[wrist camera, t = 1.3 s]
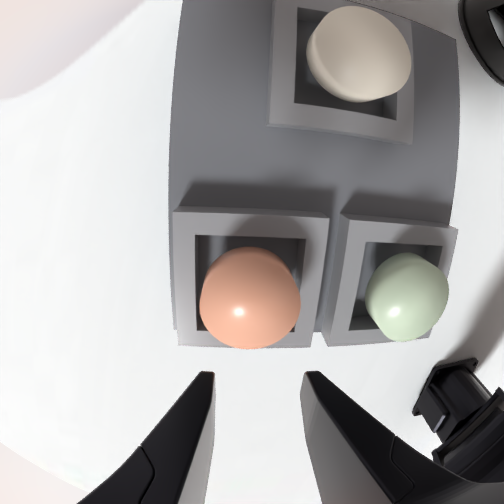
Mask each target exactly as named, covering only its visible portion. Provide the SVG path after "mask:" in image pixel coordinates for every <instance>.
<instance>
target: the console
mask: <svg viewBox="0 0 504 504" xmlns="http://www.w3.org/2000/svg"><path fill="white" fill-rule="evenodd" d="M345 6H359V7H364V8H367V9H370V10H373V11H375V12H377V13H379V14H381V15H382V16H384V17H385V18H387V19H388V20H389V21H390V22H391V23H393V24H394V25H395V27H396V28H397V29H398V30H399V31H400V33H401V34H402V36H403V37H404V39H405V41H406V43H407V45H408V48H409V51H410V55H411V71H410V75H409V78H408V80H407V82H406V83H405V85H404V86H403V87H402V88H401V89H400V90H398V91H397V92H395V93H393V94H391V95H388V96H385V97H381V98H378V99H375V100H372V101H368V102H362V103H356V102H349V101H345V100H342V99H340V98H338V97H336V96H334V95H332V94H331V93H329V92H328V91H326V90H325V89H324V88H323V87H322V86H321V85H320V84H319V83H318V82H317V80H316V79H315V78H314V76H313V74H312V73H311V71H310V68H309V66H308V63H307V57H306V48H307V43H308V40H309V38H310V36H311V35H312V33H313V32H314V30H315V29H316V28H317V26H318V25H319V23H320V22H321V21H322V19H323V18H324V17H325V16H326V15H327V14H328V13H330V12H331V11H333V10H335V9H337V8H340V7H345ZM459 122H460V94H459V70H458V57H457V47H456V39H454V38H451V37H449V36H447V35H445V34H443V33H441V32H439V31H436V30H434V29H432V28H429V27H427V26H425V25H422V24H420V23H417V22H415V21H412V20H409V19H407V18H404V17H401V16H398V15H396V14H393V13H390V12H387V11H383V10H380V9H377V8H374V7H370V6H367V5H363V4H360V3H356V2H352V1H348V0H183V3H182V10H181V17H180V25H179V32H178V41H177V49H176V59H175V69H174V80H173V92H172V107H171V124H170V146H169V256H170V279H171V297H172V312H173V325H174V330H177V332H178V344H179V345H183V346H201V347H227V348H235V347H232V346H229V345H226V344H224V343H222V342H221V341H219V340H218V339H216V338H215V337H214V336H213V335H212V334H211V333H210V332H209V331H208V330H207V328H206V327H205V325H204V323H203V321H202V318H201V314H200V298H201V293H202V288H203V284H204V279H205V276H206V273H207V271H208V269H209V267H210V266H211V265H212V263H213V262H214V261H215V260H216V259H217V258H218V257H220V256H221V255H222V254H224V253H226V252H228V251H230V250H232V249H236V248H240V247H259V248H263V249H266V250H269V251H271V252H272V253H274V254H276V255H277V256H279V257H280V258H281V259H282V260H283V261H284V262H285V264H286V265H287V267H288V268H289V270H290V272H291V274H292V277H293V279H294V281H295V283H296V286H297V288H298V290H299V294H300V298H301V309H300V314H299V317H298V320H297V322H296V324H295V325H294V327H293V328H292V330H291V331H290V332H289V333H288V334H287V335H286V336H285V337H283V338H282V339H281V340H279V341H278V342H276V343H274V344H272V345H269V346H266V347H263V348H304V347H310V346H311V341H312V335H313V332H321V333H322V335H323V337H324V339H325V341H326V344H327V346H328V347H329V346H347V345H362V344H375V343H386V342H396V341H393V340H391V339H389V338H388V337H386V336H385V335H384V333H383V332H382V331H381V329H380V328H379V327H378V325H377V324H376V323H375V321H374V320H373V319H372V317H371V316H370V315H369V313H368V311H367V309H366V305H365V293H366V288H367V285H368V282H369V280H370V278H371V276H372V275H373V273H374V272H375V270H376V269H377V268H378V267H379V266H380V265H381V264H382V263H383V262H384V261H385V260H387V259H388V258H390V257H392V256H394V255H397V254H400V253H414V254H417V255H419V256H421V257H422V258H424V259H425V260H427V261H428V262H430V263H431V264H433V265H434V266H436V267H437V268H438V269H440V270H441V271H442V272H443V273H444V275H445V276H446V279H447V278H448V274H449V270H450V266H451V262H452V258H453V253H454V249H455V244H456V239H457V234H458V229H456V228H454V227H452V226H449V222H450V217H451V210H452V204H453V197H454V189H455V181H456V171H457V160H458V146H459ZM431 330H432V328H431V329H430V330H429V331H427V332H426V333H425V334H423V335H422V336H420V337H418V338H416V339H422V338H429V336H430V333H431Z"/></svg>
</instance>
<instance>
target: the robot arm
mask: <svg viewBox="0 0 504 504" xmlns="http://www.w3.org/2000/svg"><path fill="white" fill-rule="evenodd" d="M477 364H478V360H477V359H476V358H473V359H469V360H465V361H460V362H456V363H452V364H447V365H442V366H438V367H435V368H434V369H433V370H432V372H431V374H430V377H429V379H428V381H427V383H426V385H425V387H424V389H423V391H422V393H421V395H420V397H419V399H418V401H417V403H416V405H415V407H414V409H413V411H412V414H413V415H414V416H418V415H423V417H424V419H425V420H426V422H427V424H428V425H429V427H430V429H431V430H432V432H433V433H435V432H436V433H437V435H438V437H439V438H440V440H441V442H442V443H443V444H442V445H440V446H439V447H438V448H437V449H434V450H433V451H432V452H431V453H432V456H433V461H434V462H433V461H432V460H430V459H429V458H427V457H425V456H424V455H422V454H421V453H419V452H418V451H416V450H415V449H414V448H412V447H411V446H410V445H408V444H407V443H405V442H404V441H403V440H402V439H400V438H399V437H398V436H395V434H394V433H393V432H391V431H390V430H389V429H388V428H386V427H385V426H384V425H383V424H381V423H380V422H379V421H378V420H377V419H375V418H374V417H373V416H372V415H370V414H369V413H368V412H367V411H366V410H364V409H363V408H362V407H361V406H360V405H358V404H357V403H356V402H355V401H354V400H352V399H351V398H350V397H349V396H348V395H346V394H345V393H344V392H343V391H342V390H341V389H339V388H338V387H337V386H336V385H335V384H333V383H332V382H331V381H330V380H329V379H328V378H326V377H325V376H324V375H323V374H322V373H321V372H319V371H307V372H305V373H304V376H303V381H302V386H301V391H300V400H301V407H302V415H303V423H304V431H305V438H306V443H307V447H308V451H309V455H310V459H311V462H312V466H313V470H314V474H315V478H316V481H317V485H318V489H319V493H320V497H321V500H322V504H504V391H503V390H502V389H501V388H500V387H498V388H497V390H496V391H495V393H494V394H493V395H492V394H491V393H490V392H489V391H488V390H487V388H486V387H485V386H484V385H483V384H482V383H481V381H480V380H479V379H478V378H477V377H476V376H475V375H474V373H473V372H474V370H475V368H476V366H477ZM214 435H215V373H214V372H207V371H201V372H199V374H198V375H197V376H196V377H195V379H194V380H193V381H192V382H191V384H190V385H189V386H188V387H187V389H186V390H185V391H184V392H183V393H182V395H181V396H180V397H179V398H178V400H177V401H176V402H175V403H174V405H173V406H172V407H171V408H170V409H169V411H168V412H167V413H166V414H165V416H164V417H163V418H162V419H161V420H160V422H159V423H158V424H157V425H156V426H155V428H154V429H153V430H152V431H151V432H150V434H149V435H148V436H147V437H146V438H145V440H144V441H143V442H142V443H141V444H140V445H141V446H138V448H137V449H136V450H135V451H134V452H133V454H132V455H131V456H130V457H129V458H128V459H127V460H126V461H125V462H124V463H123V464H122V465H121V467H120V468H118V469H117V470H116V471H115V472H114V473H113V474H112V475H111V476H110V477H109V478H107V479H106V480H105V481H104V482H103V483H102V484H100V485H99V486H98V487H97V488H96V489H94V490H93V491H92V492H91V493H89V494H88V495H87V496H86V497H85V498H83V499H82V500H81V501H80V502H78V503H77V504H204V502H205V496H206V490H207V483H208V477H209V471H210V465H211V459H212V453H213V446H214Z"/></svg>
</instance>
